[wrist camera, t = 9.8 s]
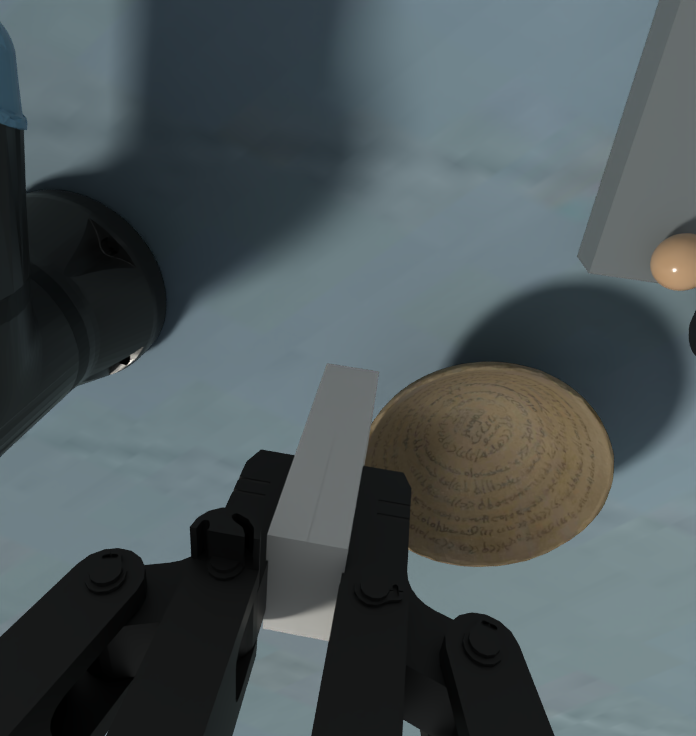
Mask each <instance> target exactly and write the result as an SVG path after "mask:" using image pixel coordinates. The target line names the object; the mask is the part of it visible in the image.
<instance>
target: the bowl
mask: <svg viewBox="0 0 696 736" xmlns="http://www.w3.org/2000/svg"><path fill="white" fill-rule="evenodd" d="M364 466H368V467H374V468H380V469H386V470H392V471H398V472H403V473H404V474H405V476H406V478H407V480H408V482H409V484H410V486H411V488H412V489H411V506H410V527H409V545H408V550H410V551H412V552H414V553H416V554H418V555H421V556H424V557H426V558H429V559H431V560H434V561H438V562H442V563H447V564H452V565H458V566H471V567H484V566H501V565H507V564H513V563H518V562H523V561H527V560H530V559H532V558H535V557H537V556H540V555H543V554H546V553H548V552H550V551H552V550H553V549H555V548H557V547H559V546H560V545H562V544H564V543H566V542H567V541H569V540H571V539H572V538H573V537H575V536H576V535H577V534H579V533H580V532H582V531H583V530H584V529H585V528H586V527H587V526H588V525H589V524H590V523H591V522H592V521H593V520H594V518H595V517H596V516H597V515H598V514H599V512H600V511H601V509H602V508H603V506H604V504H605V502H606V499H607V497H608V494H609V491H610V489H611V485H612V481H613V473H614V454H613V449H612V446H611V442H610V439H609V436H608V434H607V432H606V429H605V427H604V425H603V423H602V421H601V419H600V418H599V416H598V415H597V413H596V412H595V411H594V409H593V408H592V407H591V406H590V404H589V403H588V402H587V401H586V400H585V399H584V398H583V397H582V396H581V395H580V394H579V393H578V392H576V391H575V390H574V389H573V388H571V387H570V386H569V385H567V384H566V383H564V382H562V381H561V380H559V379H557V378H555V377H553V376H551V375H549V374H547V373H545V372H543V371H541V370H538V369H535V368H531V367H527V366H523V365H518V364H512V363H504V362H474V363H466V364H459V365H455V366H451V367H448V368H444V369H441V370H438V371H435V372H433V373H431V374H428V375H426V376H424V377H422V378H420V379H418V380H417V381H415V382H413V383H411V384H410V385H408V386H407V387H405V388H404V389H403V390H401V391H400V392H399V393H398V394H396V395H395V396H394V397H393V398H392V399H391V400H390V401H389V402H388V403H387V404H386V405H385V407H384V408H383V409H382V410H381V411H380V413H379V414H378V415H377V417H376V418H375V419H374V421H373V422H372V424H371V428H370V434H369V441H368V447H367V453H366V459H365V465H364Z"/></svg>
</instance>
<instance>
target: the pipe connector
mask: <svg viewBox="0 0 696 736" xmlns="http://www.w3.org/2000/svg"><path fill="white" fill-rule="evenodd" d="M689 342H690V347H691V349H692V352H693V353H694V355H695V356H696V311H695V313H694V315H693V318H692V320H691V322H690V326H689Z"/></svg>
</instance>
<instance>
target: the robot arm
mask: <svg viewBox="0 0 696 736" xmlns="http://www.w3.org/2000/svg"><path fill="white" fill-rule="evenodd" d="M24 130H27V120H26V117H25V116H24V115H23V114H22V107H21V99H20V91H19V82H18V74H17V63H16V54H15V49H14V45H13V43H12V40H11V38H10V36H9V34H8V32H7V30H6V29H5V27H4V26H3V25H2V24H1V22H0V457H1V456H2V455H3V454H4V453H5V452H6V451H7V450H8V449H9V448H10V447H11V446H12V445H13V444H14V443H16V442H17V441H18V440H19V439H20V438H21V437H22V436H23V435H24V434H25V433H26V432H27V431H28V430H29V429H31V428H32V427H33V426H34V425H35V424H36V423H37V422H38V421H39V420H40V419H41V418H42V417H43V416H45V415H46V414H47V413H48V412H49V411H50V410H51V409H52V408H53V407H54V406H55V405H56V404H57V403H59V402H60V401H61V400H62V399H63V398H64V397H65V396H66V395H67V394H68V393H69V392H70V391H71V390H72V389H74V388H75V387H76V386H79V385H82V384H85V383H88V382H91V381H94V380H96V379H99V378H102V377H105V376H108V375H111V374H114V373H116V372H119V371H121V370H123V369H125V368H127V367H128V366H130V365H131V364H133V363H134V362H135V361H136V360H138V359H139V358H140V357H141V356H142V355H143V354H144V353H145V352H146V351H147V350H148V349H149V348H150V347H151V345H152V344H153V343H154V342H155V340H156V339H157V337H158V335H159V333H160V331H161V329H162V326H163V323H164V319H165V314H166V293H165V287H164V282H163V278H162V275H161V272H160V270H159V267H158V265H157V263H156V260H155V258H154V257H153V255H152V253H151V251H150V250H149V248H148V247H147V245H146V244H145V242H144V241H143V239H142V238H141V237H140V236H139V235H138V233H137V232H136V231H135V230H134V229H133V228H132V227H131V226H130V225H129V224H128V223H127V222H126V221H125V220H124V219H123V218H121V217H120V216H119V215H118V214H116V213H115V212H114V211H112V210H111V209H109V208H108V207H106V206H104V205H103V204H101V203H99V202H97V201H95V200H93V199H91V198H88V197H86V196H83V195H80V194H77V193H73V192H69V191H64V190H39V191H34V192H30V193H27V194H26V181H25V152H24ZM378 375H379V372H378V371H372V370H365V369H359V368H353V367H347V366H340V365H334V364H328V363H327V365H326V368H325V371H324V374H323V376H322V379H321V382H320V385H319V388H318V391H317V394H316V396H315V399H314V402H313V405H312V408H311V411H310V414H309V416H308V419H307V422H306V425H305V428H304V431H303V434H302V436H301V439H300V442H299V445H298V448H297V451H296V454H295V455H290V454H284V453H278V452H272V451H266V450H260V451H259V452H258V453H256V454H255V455H254V456H253V457H251V458H250V459H249V460H248V461H247V462H246V464H245V466H244V468H243V470H242V473H241V475H240V478H239V480H238V481H237V483H236V486H235V488H234V491H233V492H232V494H231V496H230V498H229V501H228V503H227V505H226V507H225V508H219V509H215V510H211V511H208V512H206V513H205V514H203V515H201V516H200V517H198V518H197V519H196V520H195V521H194V523H193V524H192V525H191V526H190V540H191V557H189V558H186V559H183V560H181V561H176V562H171V563H162V564H151V565H144V564H143V561H142V559H141V557H139V556H138V555H136V554H135V553H134V552H132V551H129V550H125V549H120V548H116V549H104V550H102V551H99V552H96V553H94V554H91V555H89V556H88V557H86V558H85V559H83V560H82V561H81V562H79V563H78V564H77V565H76V566H75V567H74V568H72V569H71V570H70V571H69V572H68V573H67V574H66V575H65V576H64V577H63V578H62V579H61V580H60V581H59V582H58V583H57V584H56V585H55V586H53V587H52V588H51V589H50V590H49V591H48V592H47V593H46V594H45V595H44V596H43V597H42V598H41V599H40V600H39V601H38V602H37V603H36V604H35V605H33V606H32V607H31V608H30V609H29V610H28V611H27V612H26V613H25V614H24V615H23V616H22V617H21V618H20V619H19V620H18V621H17V622H16V623H14V624H13V625H12V626H11V627H10V628H9V629H8V630H7V631H6V632H5V633H4V634H3V635H2V636H1V637H0V736H105V734H106V733H107V732H108V733H107V735H106V736H232V735H233V732H234V728H235V725H236V721H237V718H238V715H239V711H240V708H241V704H242V701H243V698H244V694H245V691H246V687H247V684H248V681H249V677H250V674H251V670H252V667H253V664H254V660H255V657H256V650H257V637H258V633H259V630H260V627H261V624H262V620H263V629H268V630H274V631H279V632H284V633H289V634H294V635H300V636H305V637H310V638H315V639H321V640H326V641H329V643H328V648H327V654H326V659H325V664H324V670H323V675H322V681H321V686H320V692H319V697H318V702H317V708H316V713H315V719H314V724H313V730H312V735H311V736H402V730H403V720H405V721H407V722H408V723H410V724H412V725H413V726H415V727H417V728H419V729H420V732H421V736H554V733H553V731H552V728H551V726H550V723H549V721H548V718H547V715H546V713H545V710H544V708H543V705H542V703H541V700H540V697H539V695H538V692H537V690H536V687H535V685H534V682H533V679H532V677H531V674H530V672H529V669H528V667H527V664H526V662H525V659H524V656H523V654H522V651H521V649H520V646H519V644H518V642H517V641H516V639H515V637H514V636H513V634H512V632H511V631H510V630H509V629H507V628H506V627H505V626H504V625H503V624H502V623H501V622H500V621H498V620H496V619H494V618H492V617H490V616H488V615H485V614H478V613H467V614H463V615H459V616H458V617H456V618H455V619H454V620H453V619H451V618H449V617H447V616H445V615H443V614H441V613H439V612H437V611H435V610H433V609H432V608H430V607H428V606H427V605H425V604H424V603H423V602H422V601H421V600H420V599H419V598H418V597H417V596H416V595H415V593H414V592H413V590H412V589H411V586H410V584H409V581H408V575H407V564H408V545H409V527H410V506H411V489H412V488H411V486H410V484H409V482H408V480H407V478H406V476H405V474H404V473H403V472H398V471H392V470H386V469H380V468H374V467H368V466H364V465H365V459H366V453H367V447H368V441H369V434H370V428H371V421H372V415H373V408H374V402H375V395H376V389H377V382H378ZM108 730H109V731H108Z"/></svg>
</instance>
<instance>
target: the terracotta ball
mask: <svg viewBox="0 0 696 736" xmlns="http://www.w3.org/2000/svg"><path fill="white" fill-rule="evenodd" d="M650 269H651V272H652V275H653V277H654V278H655V280H656V281H657V282H658V283H659V284H660V285H662V286H663V287H665V288H668V289H671V290H677V291H684V290H689V289H693V288H695V287H696V234H691V233H681V234H676V235H673V236H670V237H669V238H667V239H665V240H664V241H662V242H661V243H660V244H659V245H658V246H657V247H656V249H655V250H654V252H653V254H652V257H651V261H650Z"/></svg>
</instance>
